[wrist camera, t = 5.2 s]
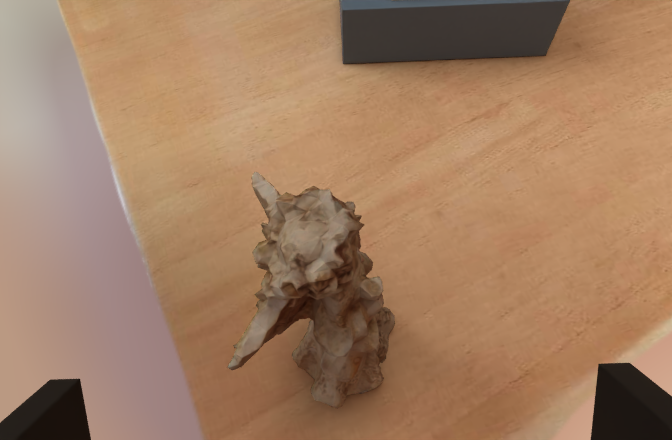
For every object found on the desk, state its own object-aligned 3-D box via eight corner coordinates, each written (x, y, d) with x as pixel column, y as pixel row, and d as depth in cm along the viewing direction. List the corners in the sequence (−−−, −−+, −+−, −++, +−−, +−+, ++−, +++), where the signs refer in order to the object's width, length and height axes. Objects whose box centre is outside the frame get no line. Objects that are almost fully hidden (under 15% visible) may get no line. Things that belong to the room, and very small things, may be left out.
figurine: (396, 429, 21) (460, 339, 9) (279, 423, 22) (180, 328, 9) (392, 293, 25) (432, 98, 13) (294, 290, 26) (238, 96, 13)
